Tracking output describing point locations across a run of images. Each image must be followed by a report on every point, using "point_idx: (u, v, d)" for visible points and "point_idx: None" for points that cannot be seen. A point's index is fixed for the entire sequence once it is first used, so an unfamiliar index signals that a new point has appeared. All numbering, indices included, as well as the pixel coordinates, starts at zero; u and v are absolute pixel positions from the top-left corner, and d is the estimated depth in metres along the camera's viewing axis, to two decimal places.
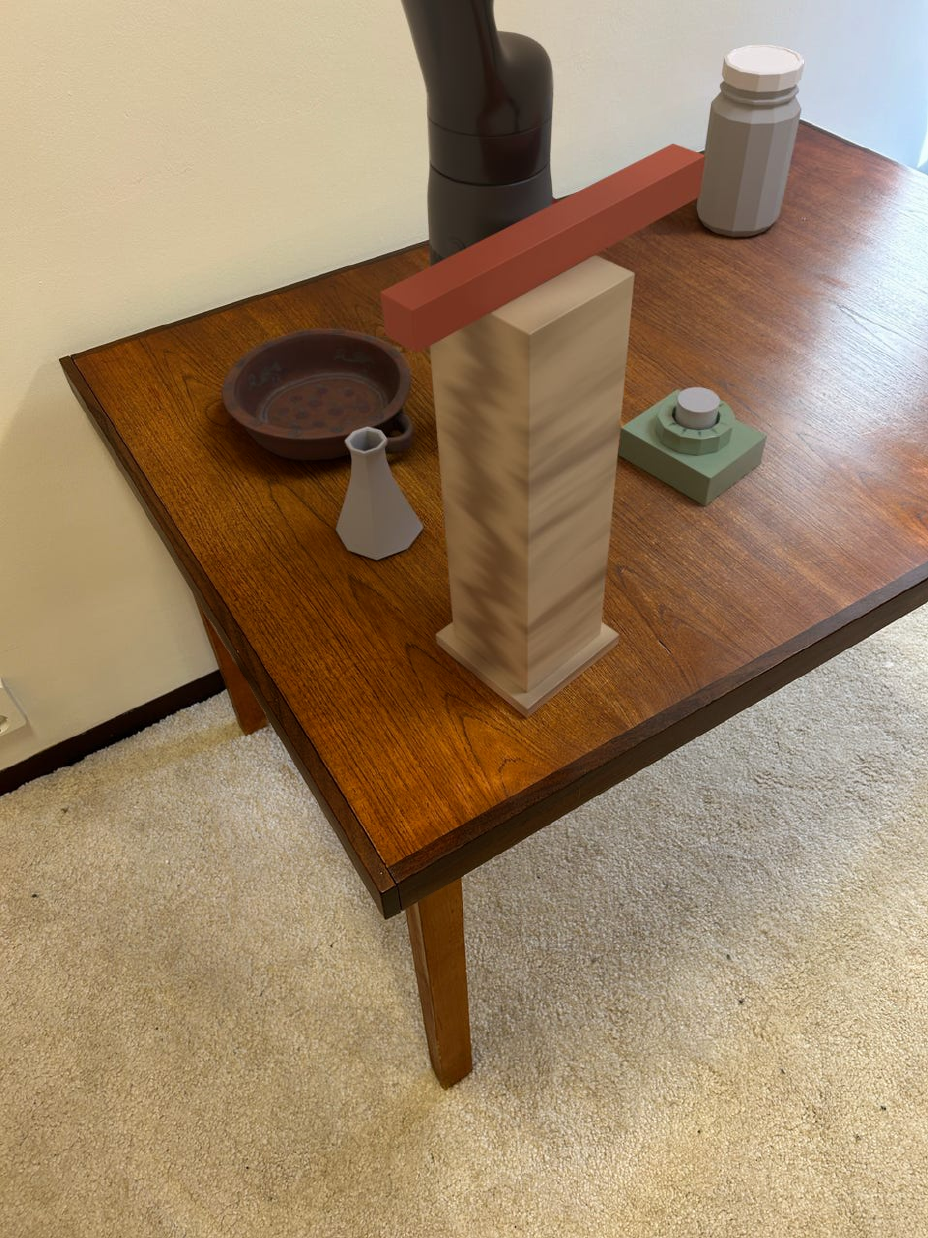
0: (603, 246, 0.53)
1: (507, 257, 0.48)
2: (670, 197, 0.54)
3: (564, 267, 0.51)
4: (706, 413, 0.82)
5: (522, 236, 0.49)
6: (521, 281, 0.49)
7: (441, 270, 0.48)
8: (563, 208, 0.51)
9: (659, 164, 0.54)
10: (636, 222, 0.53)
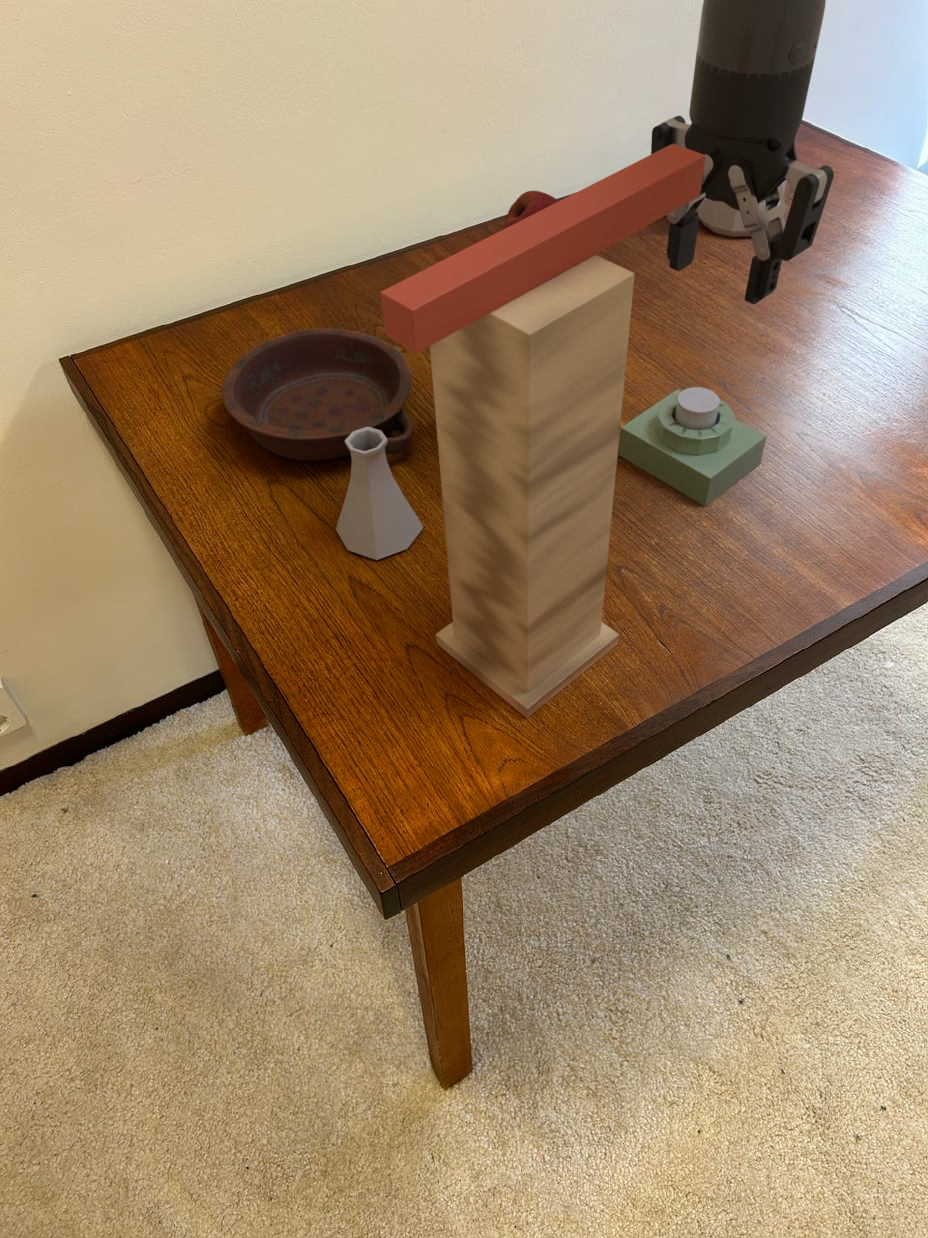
0: (603, 246, 0.53)
1: (507, 257, 0.48)
2: (670, 197, 0.54)
3: (564, 267, 0.51)
4: (706, 413, 0.82)
5: (522, 236, 0.49)
6: (521, 281, 0.49)
7: (441, 270, 0.48)
8: (563, 208, 0.51)
9: (659, 164, 0.54)
10: (636, 222, 0.53)
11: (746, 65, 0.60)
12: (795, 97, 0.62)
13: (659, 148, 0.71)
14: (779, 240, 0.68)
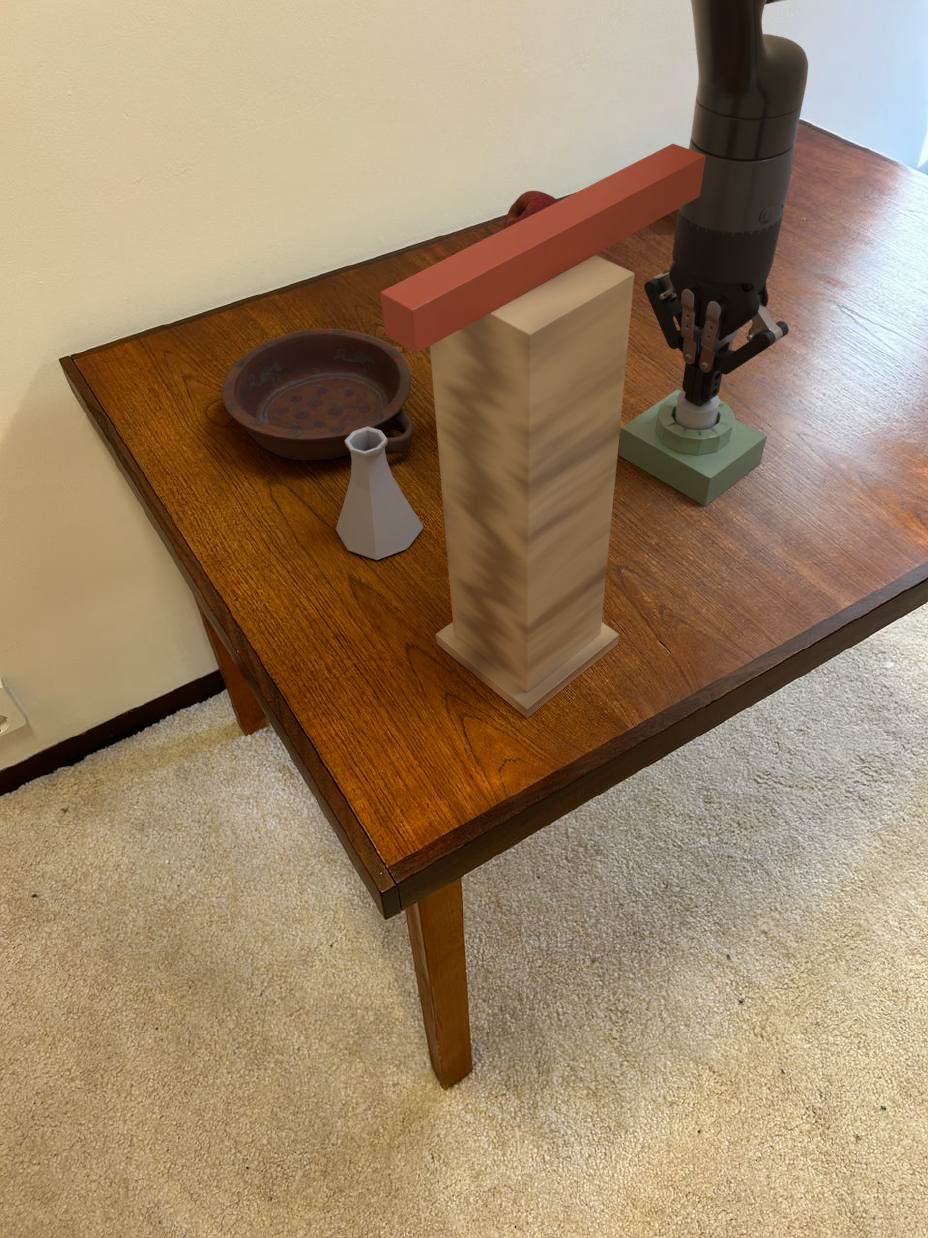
0: (603, 246, 0.53)
1: (507, 257, 0.48)
2: (670, 197, 0.54)
3: (564, 267, 0.51)
4: (706, 413, 0.82)
5: (522, 236, 0.49)
6: (521, 281, 0.49)
7: (441, 270, 0.48)
8: (563, 208, 0.51)
9: (659, 164, 0.54)
10: (636, 222, 0.53)
11: (721, 225, 0.68)
12: (765, 249, 0.70)
13: (656, 298, 0.79)
14: None
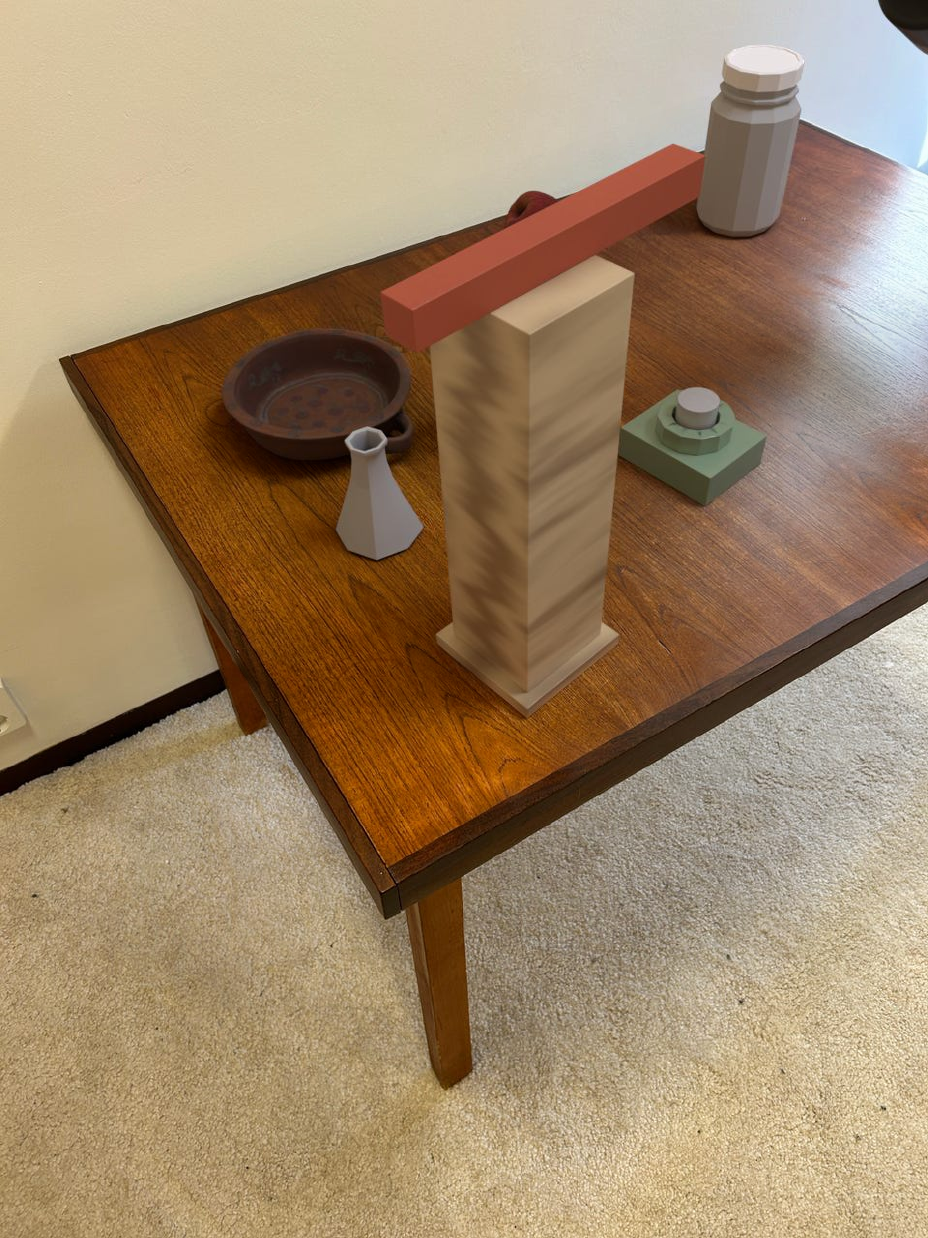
0: (603, 246, 0.53)
1: (507, 257, 0.48)
2: (670, 197, 0.54)
3: (564, 267, 0.51)
4: (706, 413, 0.82)
5: (522, 236, 0.49)
6: (521, 281, 0.49)
7: (441, 270, 0.48)
8: (563, 208, 0.51)
9: (659, 164, 0.54)
10: (636, 222, 0.53)
11: None
12: None
13: None
14: None
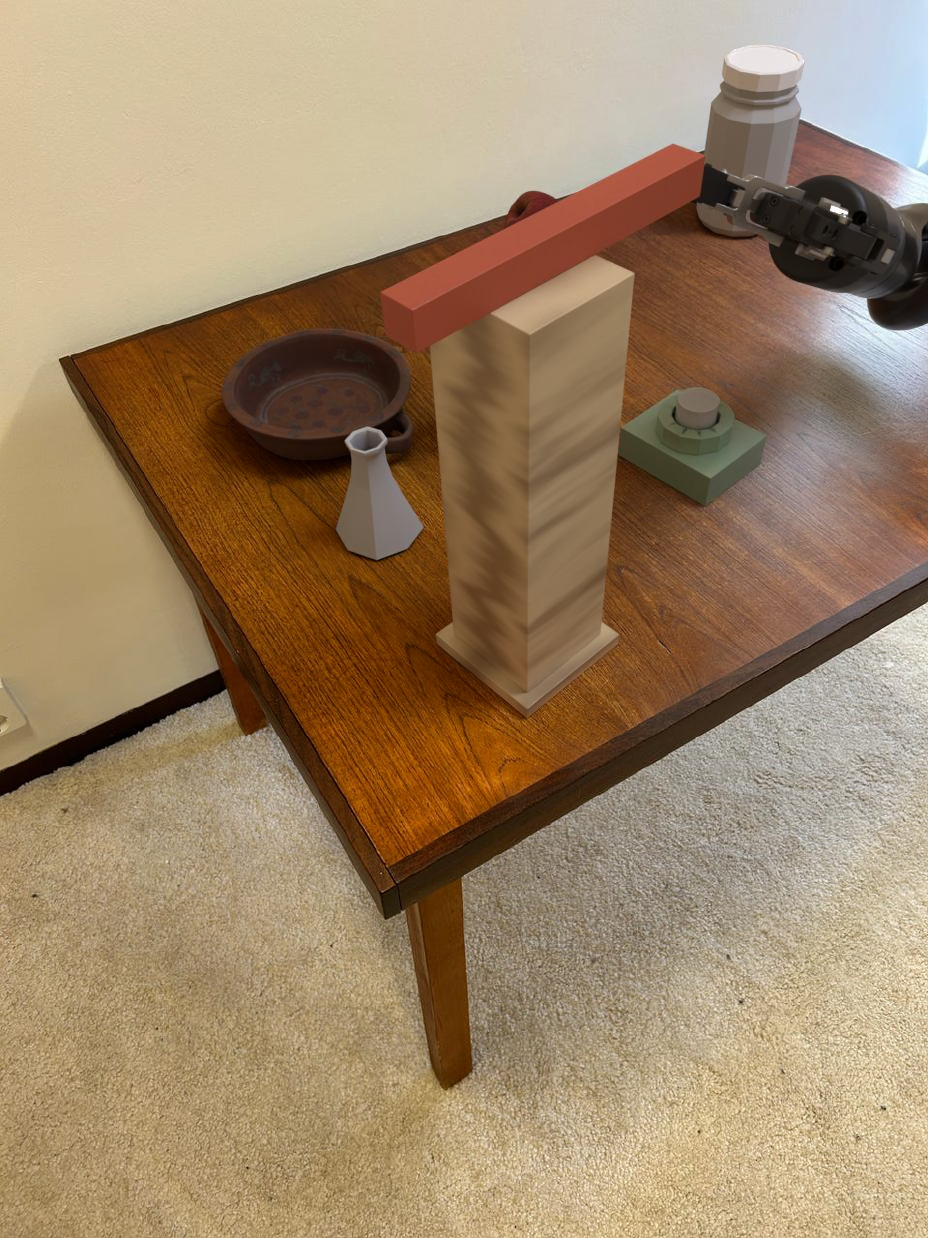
0: (603, 246, 0.53)
1: (507, 257, 0.48)
2: (670, 197, 0.54)
3: (564, 267, 0.51)
4: (706, 413, 0.82)
5: (522, 236, 0.49)
6: (521, 281, 0.49)
7: (441, 270, 0.48)
8: (563, 208, 0.51)
9: (659, 164, 0.54)
10: (636, 222, 0.53)
11: (881, 200, 0.72)
12: None
13: None
14: None
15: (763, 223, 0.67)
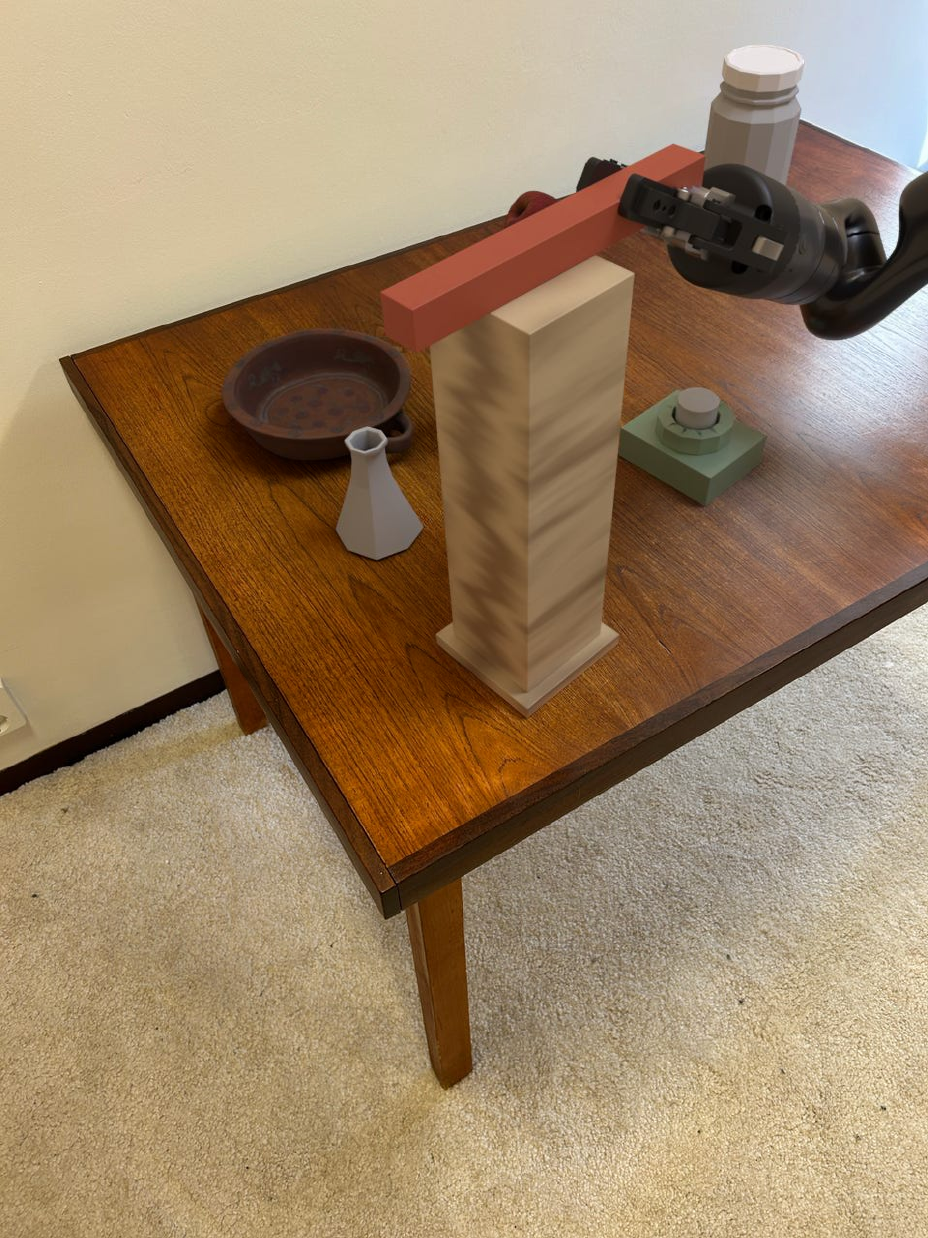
0: (603, 246, 0.53)
1: (506, 257, 0.48)
2: None
3: (564, 267, 0.51)
4: (706, 413, 0.82)
5: (522, 236, 0.49)
6: (521, 281, 0.49)
7: (440, 270, 0.48)
8: (563, 207, 0.51)
9: (659, 164, 0.54)
10: (636, 222, 0.53)
11: (793, 193, 0.62)
12: (783, 246, 0.61)
13: None
14: None
15: None
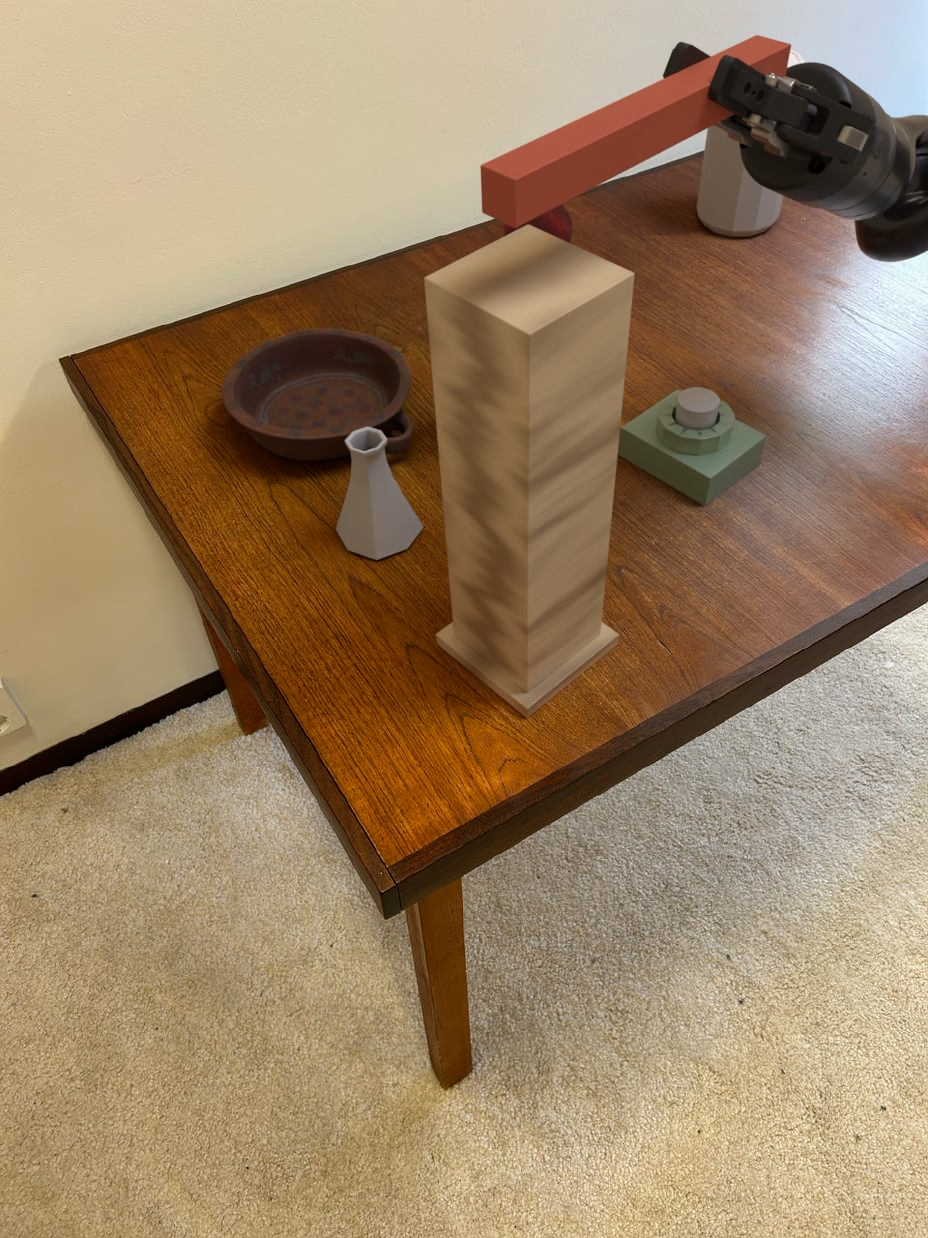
0: (692, 132, 0.53)
1: (604, 133, 0.48)
2: None
3: (655, 150, 0.51)
4: (706, 413, 0.82)
5: (616, 115, 0.49)
6: (615, 161, 0.49)
7: (539, 145, 0.47)
8: (654, 90, 0.51)
9: (745, 53, 0.54)
10: (724, 109, 0.53)
11: (868, 95, 0.62)
12: None
13: None
14: None
15: None
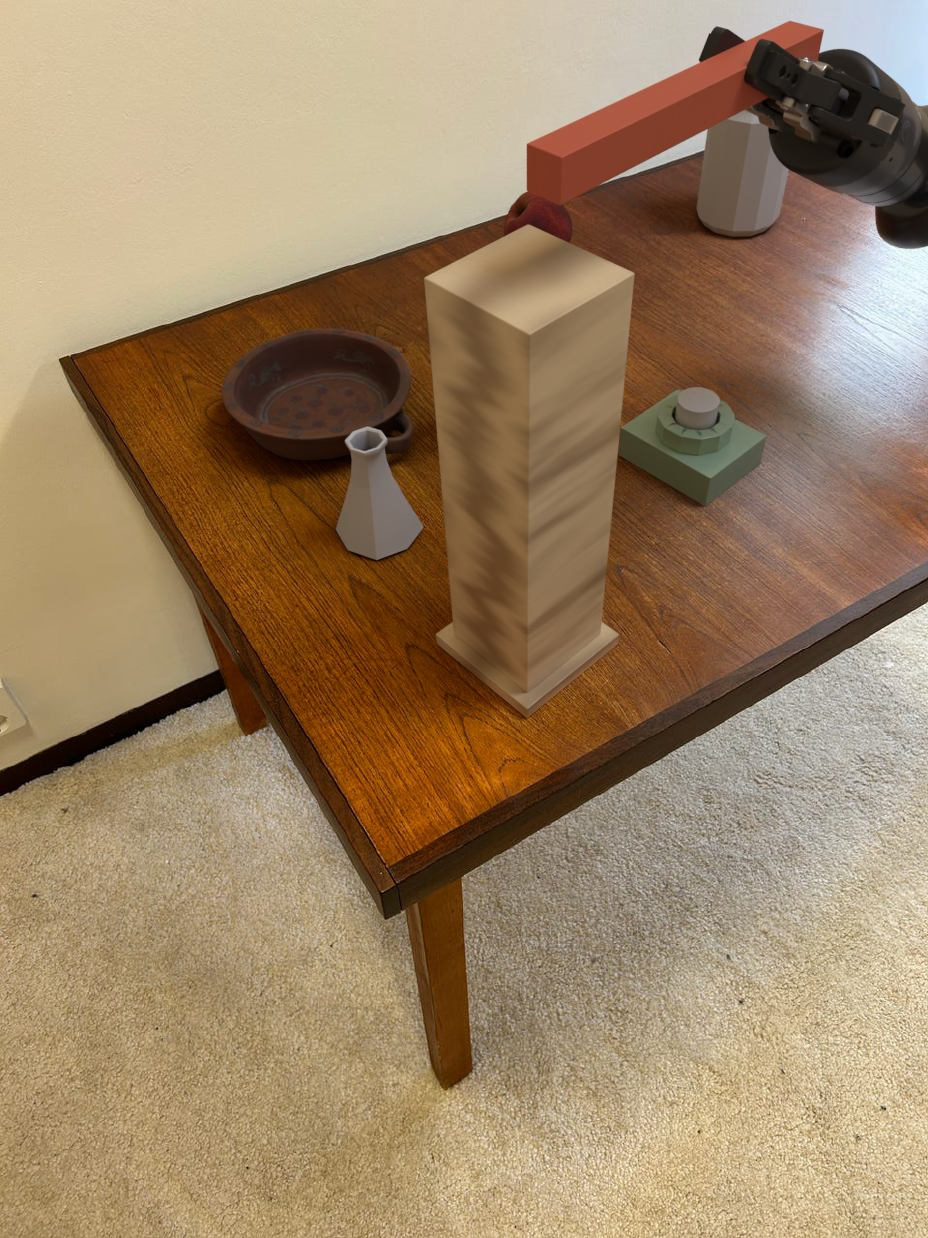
0: (728, 114, 0.54)
1: (645, 113, 0.49)
2: None
3: (693, 132, 0.53)
4: (706, 413, 0.82)
5: (657, 97, 0.51)
6: (655, 141, 0.51)
7: (582, 125, 0.49)
8: (692, 73, 0.52)
9: (779, 37, 0.55)
10: (758, 93, 0.55)
11: (895, 81, 0.64)
12: None
13: None
14: None
15: None
